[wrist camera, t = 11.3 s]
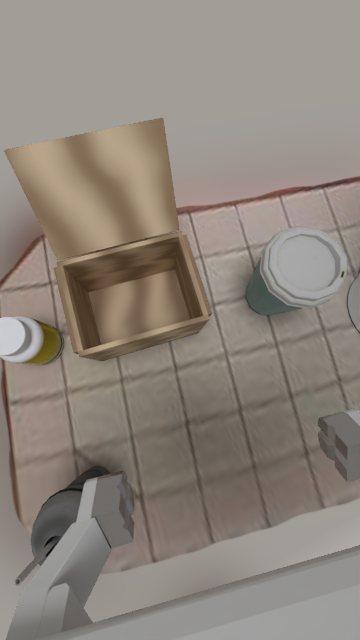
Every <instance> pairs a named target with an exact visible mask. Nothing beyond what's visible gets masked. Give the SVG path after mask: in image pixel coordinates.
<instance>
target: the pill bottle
mask: <svg viewBox="0 0 360 640" xmlns="http://www.w3.org/2000/svg"><path fill="white" fill-rule="evenodd" d="M62 349H63V338H62V335H61V334H60V332H59V331H58V330H57V329H55V328H54V327H52V326H49V325H47V324H44V323H42V322H39V321H37V320H34V319H32V318H29V317H25V316H16V317H4V318H0V357H1V358H2V359H4V360H6V361H8V362H12V363H22V364H37V365H43V364H48V363H51V362H53V361H54V360H55V359H57V358H58V356H59V355H60V354H61V352H62Z"/></svg>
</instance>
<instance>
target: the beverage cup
mask: <svg viewBox="0 0 360 640" xmlns="http://www.w3.org/2000/svg"><path fill="white" fill-rule="evenodd" d="M108 474H110V473H109V472H108V471H107V470H106V469H105V468H102V467H92V468H90V469H89V470H87V471H86V472H84V473H83V474H82V475H80V476H79V477H78V478H77V479H76V480H75V481H73V482H72V483H71V484H70V485H69V486H68V487H66V488H65V489H63V490H60V491H59V492H57V493H55V494H54V495H52V496H51V497H50V498H49V499H48V500H47V501H46V502H45V503H44V504H43V505H42V507H41V510H40V512H39V514H38V516H37V518H36V520H35V522H34V525H33V530H32V535H31V546H32V552H33V555H34V557H35V559H34V560H33V561H32V562H31V563H30V564H29V565H28V566H27V567H26V569H25V570H24V571H23V572H22V573H21V574H20V575H19V576H18V577H17V578H16V580H15V585H16V586H18V585H20V584H21V582H22V581H23V580H24V579H25V578H26V577H27V576H28V574H29V573H30V572H31V571H32V570H33V569H34V568H35V566H36V565H37V564H39V565H40V566H41V565H42V564H43V563H44V561H45V560H46V559H47V557H48V556H49V554H50V553H51V552H52V550H53V549H54V548H55V546H56V545H57V543H58V542H59V541H60V539H61V538H62V537H63V535H64V534H65V533H66V531H67V530H68V528H69V527H70V526H71V524H72V523H76V520H77V515H78V510H79V506H80V501H81V496H82V492H83V487H84V484H85V482H86V480H88V479H92V478H96V477H100V476H104V475H108Z"/></svg>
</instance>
